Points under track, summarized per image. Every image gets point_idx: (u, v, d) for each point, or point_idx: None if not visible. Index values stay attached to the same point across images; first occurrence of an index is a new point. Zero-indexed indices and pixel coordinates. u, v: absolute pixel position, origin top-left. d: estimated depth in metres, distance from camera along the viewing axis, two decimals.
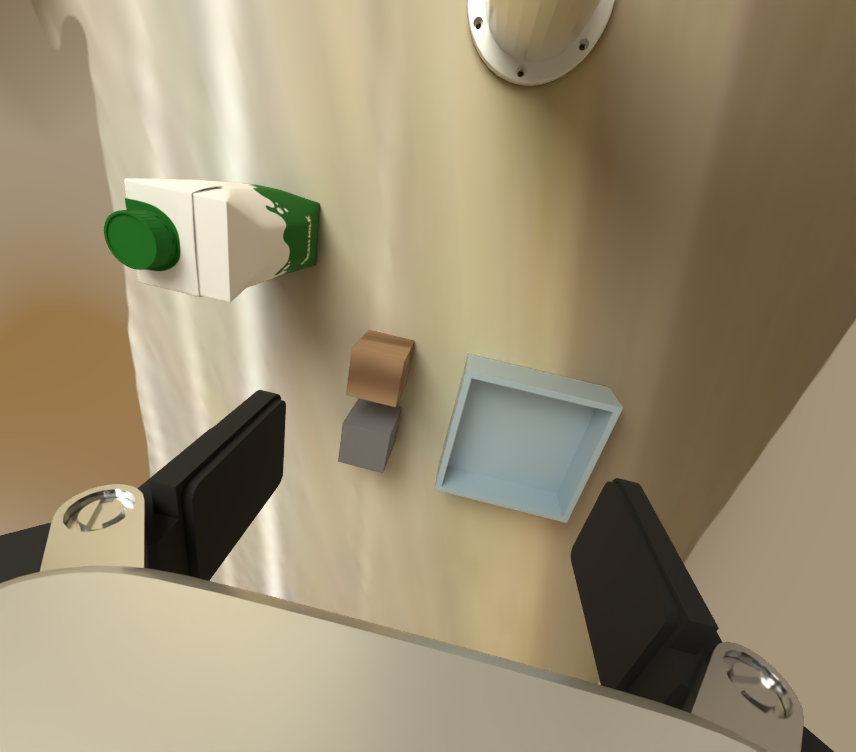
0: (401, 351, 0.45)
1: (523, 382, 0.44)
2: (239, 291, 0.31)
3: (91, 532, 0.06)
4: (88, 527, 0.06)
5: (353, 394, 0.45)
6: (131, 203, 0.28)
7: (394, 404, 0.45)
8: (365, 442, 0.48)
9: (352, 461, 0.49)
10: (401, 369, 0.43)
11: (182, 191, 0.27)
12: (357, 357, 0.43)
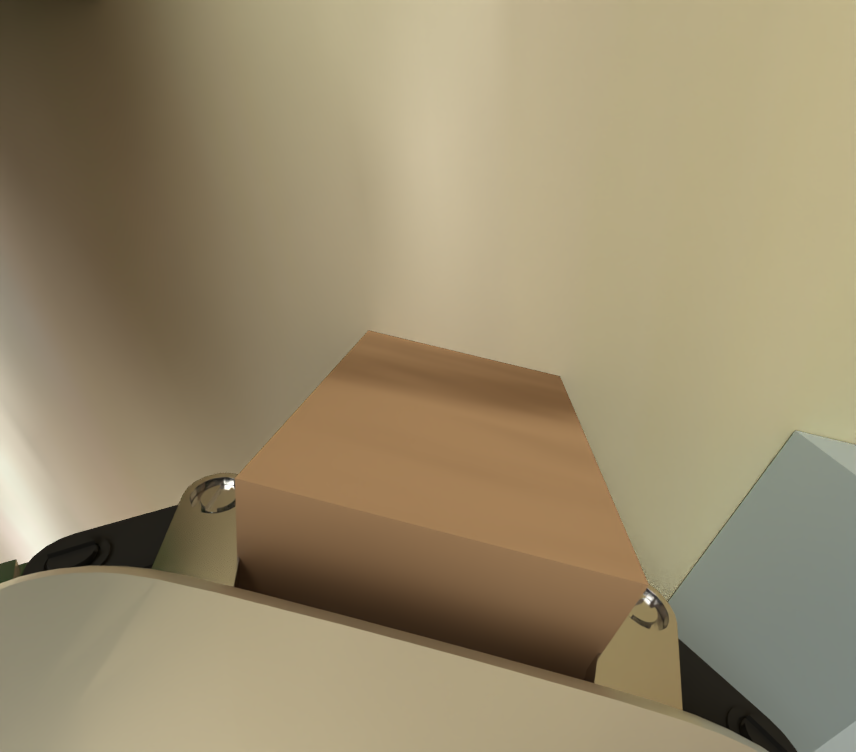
0: (558, 459, 0.08)
1: None
2: None
3: (207, 514, 0.07)
4: (206, 509, 0.07)
5: None
6: None
7: None
8: None
9: None
10: (609, 627, 0.06)
11: None
12: (282, 535, 0.06)
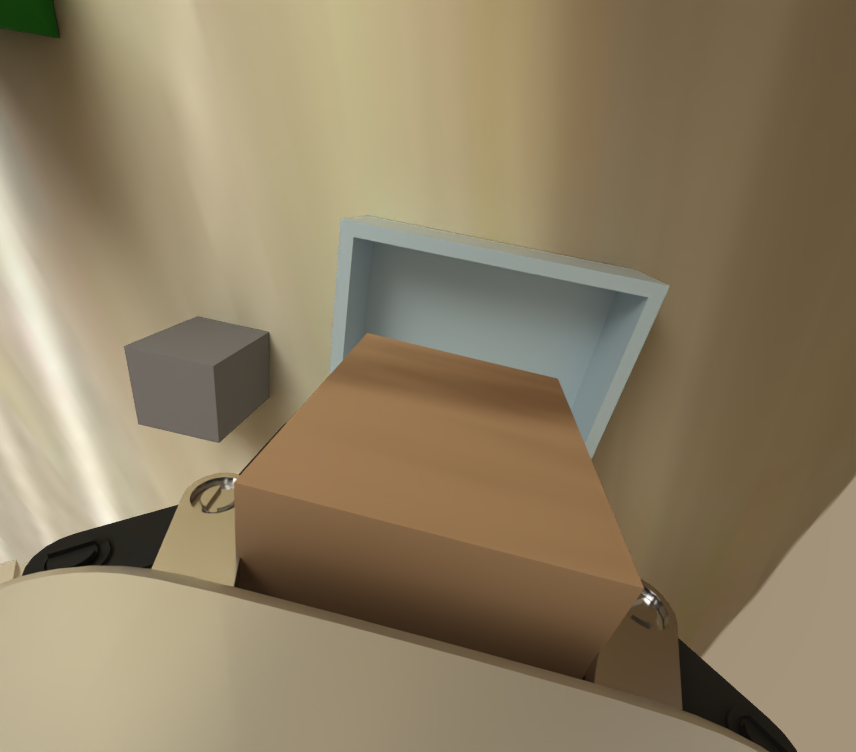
0: (556, 462, 0.08)
1: (459, 242, 0.21)
2: None
3: (207, 514, 0.07)
4: (206, 508, 0.07)
5: None
6: None
7: None
8: (173, 383, 0.25)
9: (162, 422, 0.27)
10: (605, 630, 0.06)
11: None
12: (281, 538, 0.06)
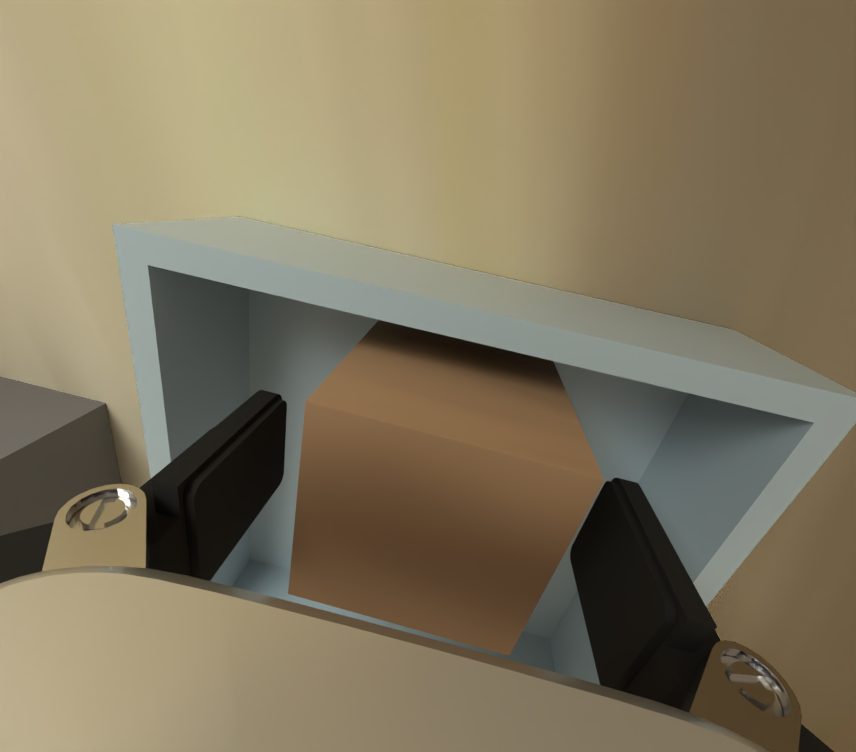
0: (544, 405, 0.10)
1: (383, 282, 0.09)
2: None
3: (93, 531, 0.06)
4: (90, 526, 0.06)
5: (320, 593, 0.10)
6: None
7: (506, 646, 0.10)
8: None
9: None
10: (576, 517, 0.08)
11: None
12: (337, 447, 0.08)
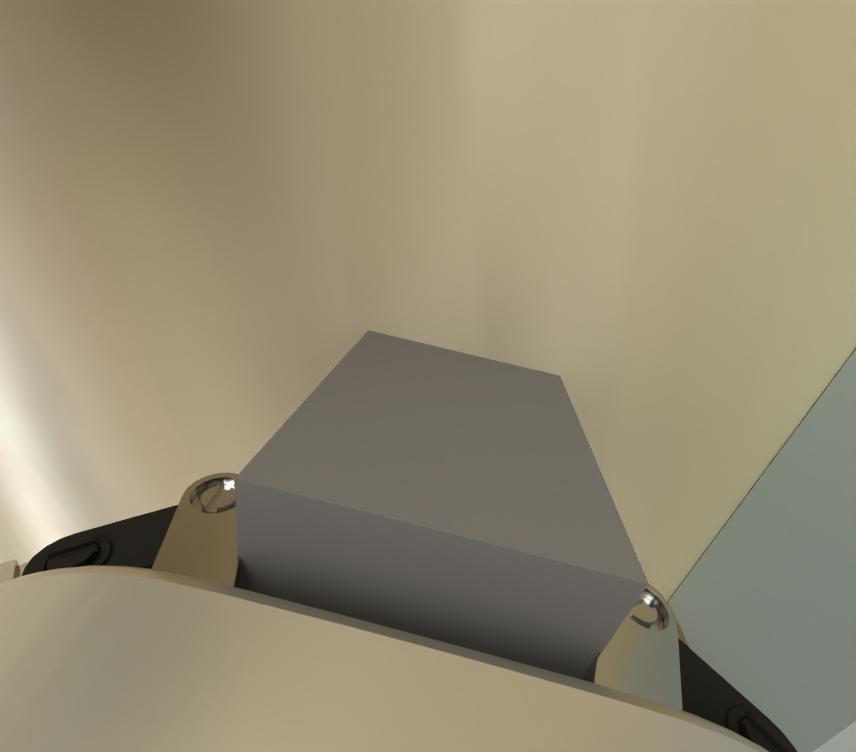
0: None
1: None
2: None
3: (207, 514, 0.07)
4: (206, 508, 0.07)
5: None
6: None
7: None
8: (420, 617, 0.06)
9: None
10: None
11: None
12: None
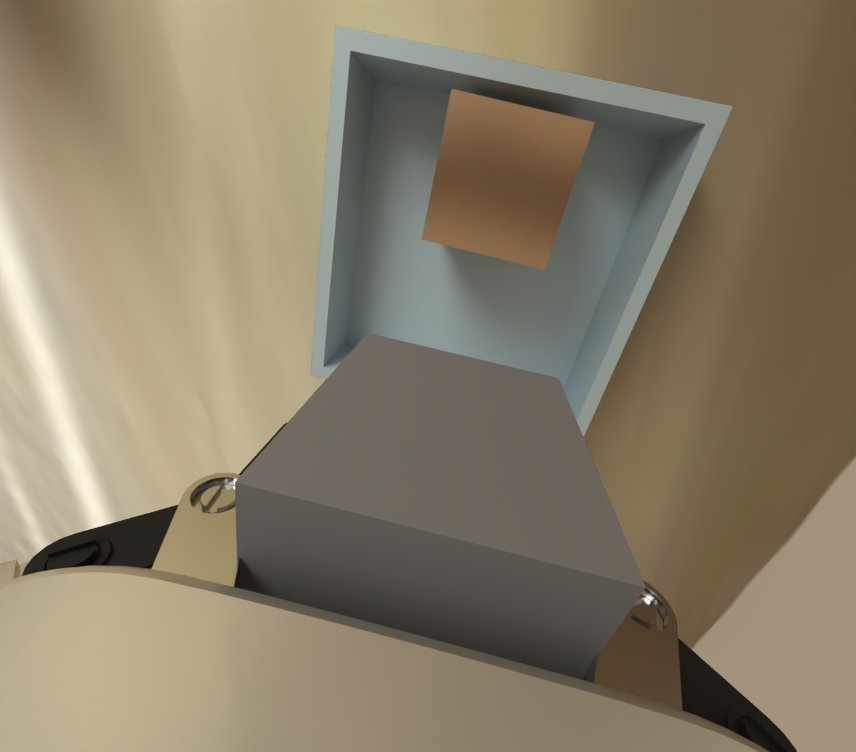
0: None
1: (478, 58, 0.18)
2: None
3: (207, 514, 0.07)
4: (206, 508, 0.07)
5: (440, 236, 0.18)
6: None
7: (543, 261, 0.18)
8: (420, 619, 0.06)
9: None
10: (581, 151, 0.16)
11: None
12: (463, 118, 0.16)
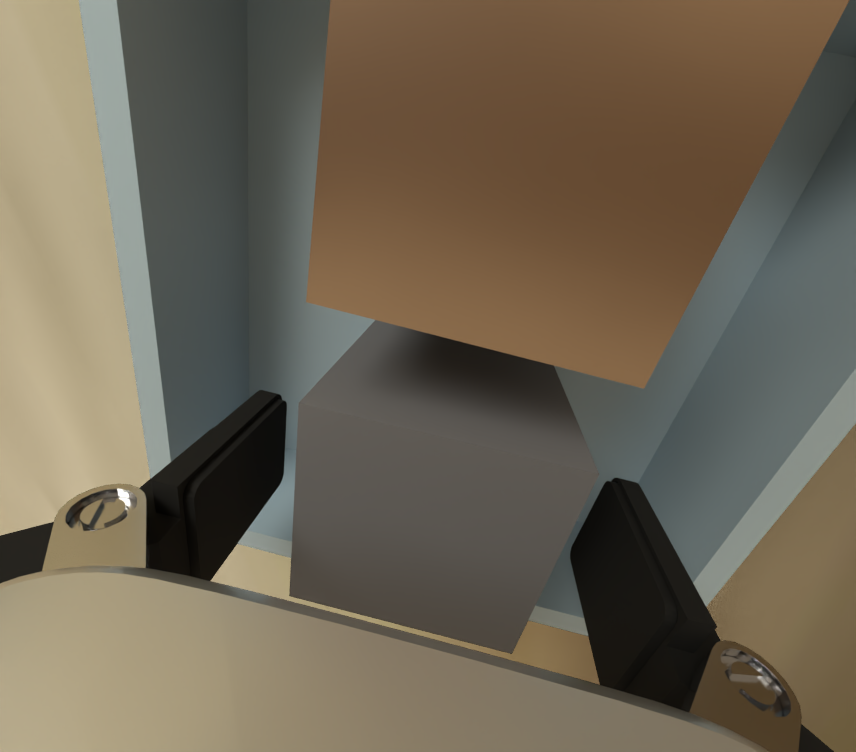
0: None
1: None
2: None
3: (93, 531, 0.06)
4: (90, 526, 0.06)
5: (356, 294, 0.07)
6: None
7: (642, 369, 0.06)
8: (434, 512, 0.08)
9: (359, 599, 0.10)
10: (828, 15, 0.04)
11: None
12: None
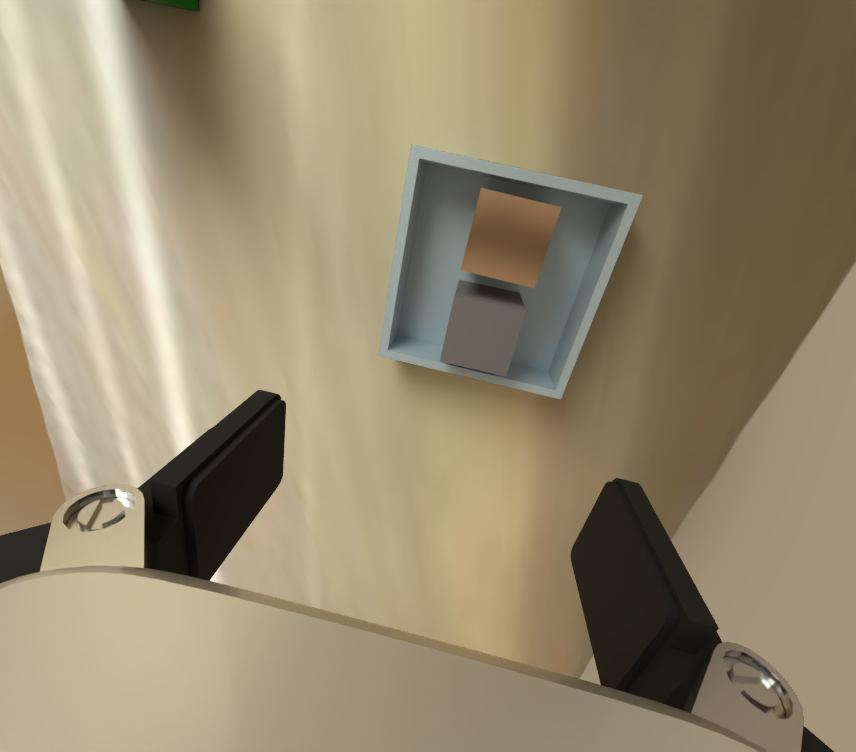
0: None
1: (495, 163, 0.30)
2: None
3: (91, 532, 0.06)
4: (88, 527, 0.06)
5: (472, 267, 0.30)
6: None
7: (533, 283, 0.30)
8: (486, 325, 0.32)
9: (461, 359, 0.34)
10: (554, 222, 0.28)
11: None
12: (487, 203, 0.28)
